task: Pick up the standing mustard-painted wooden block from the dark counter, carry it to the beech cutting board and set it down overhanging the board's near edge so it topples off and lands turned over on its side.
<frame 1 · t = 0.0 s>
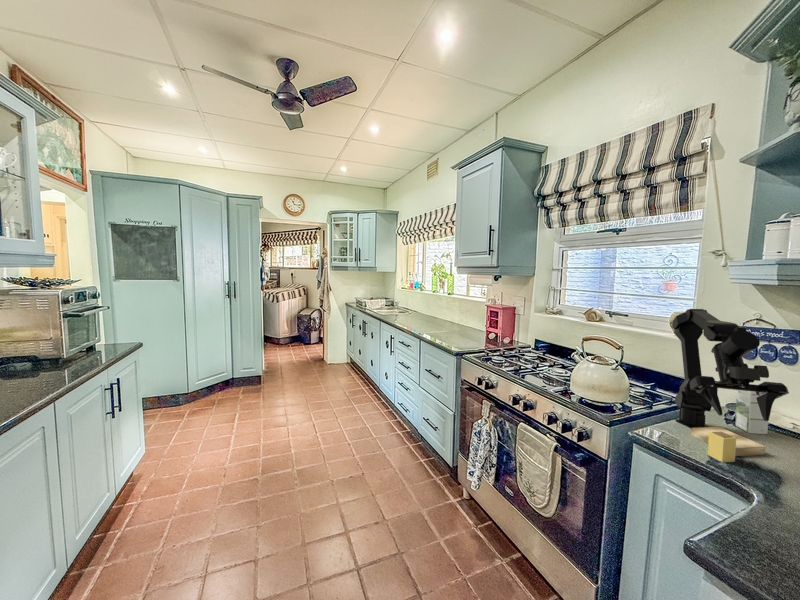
hand: (743, 418, 87), 15 cm above the countertop, tool tilted 35°, fingers open, 9 cm apart
syrup box: (750, 430, 112), on the countertop
cutting board: (725, 444, 102), on the countertop
mustard block: (720, 458, 94), on the countertop
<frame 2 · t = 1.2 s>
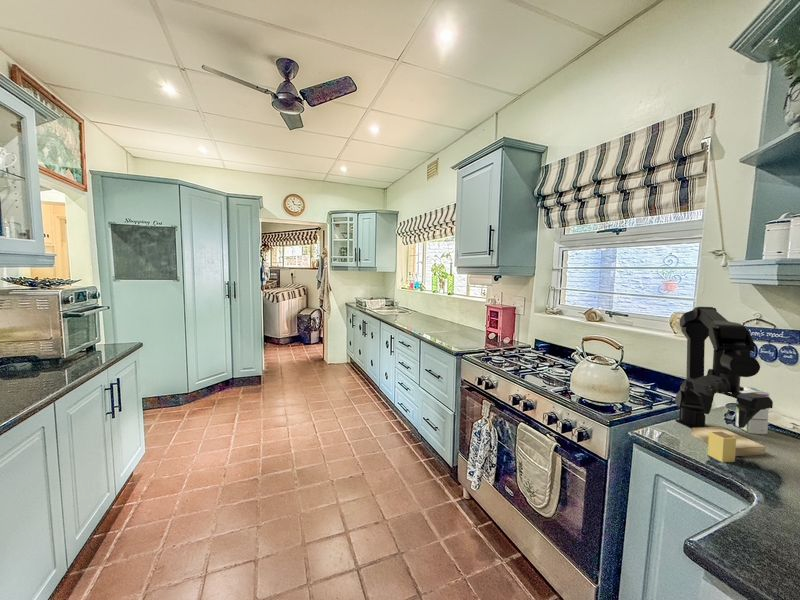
hand: (723, 420, 94), 11 cm above the countertop, tool pointing down, fingers open, 9 cm apart
nothing on the countertop moved.
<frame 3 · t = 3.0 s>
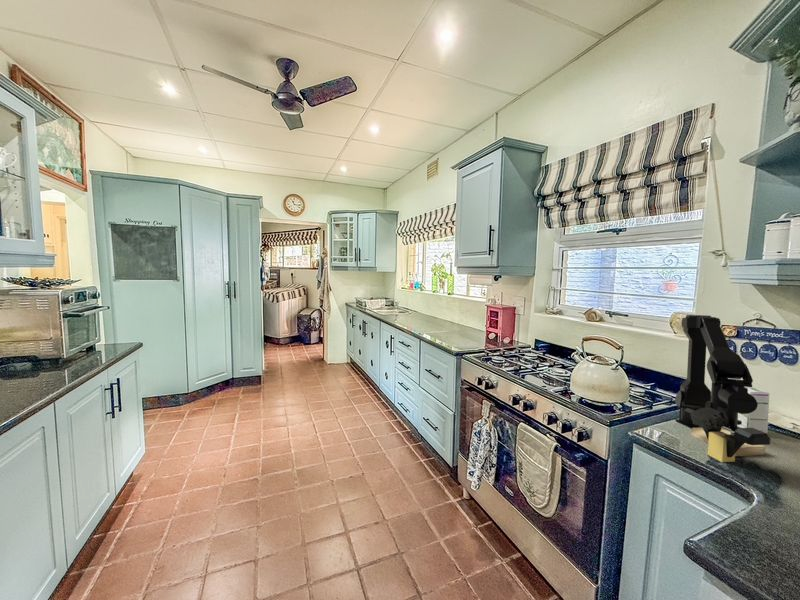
hand: (721, 452, 94), 2 cm above the countertop, tool pointing down, fingers closed on mustard block, 4 cm apart
mustard block: (720, 458, 94), on the countertop, touching gripper
everything else where it was.
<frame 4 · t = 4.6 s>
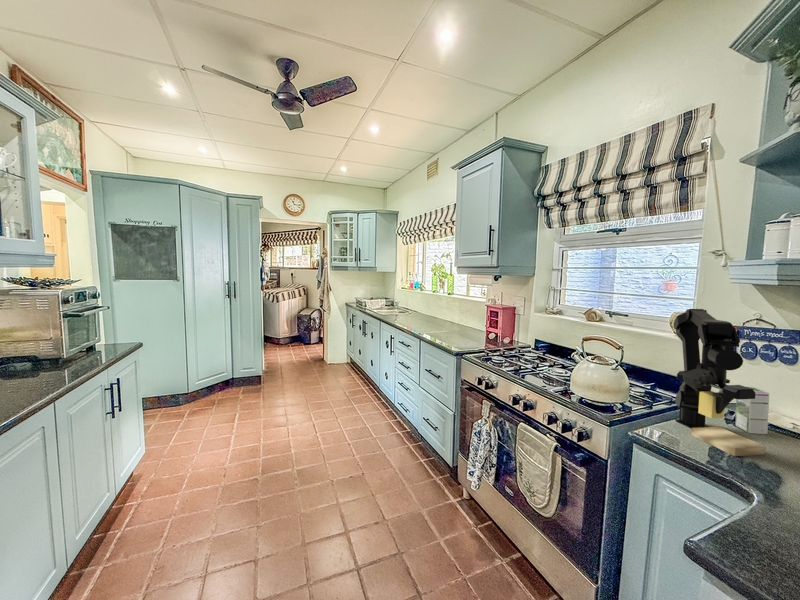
hand: (710, 410, 101), 11 cm above the countertop, tool pointing down, fingers closed on mustard block, 4 cm apart
mustard block: (710, 415, 101), point 10 cm above the countertop, touching gripper
everything else where it was.
when the fingers open (5 cm above the countertop, at t = 6.0 s): mustard block drops 2 cm and tips over, point 2 cm above the countertop.
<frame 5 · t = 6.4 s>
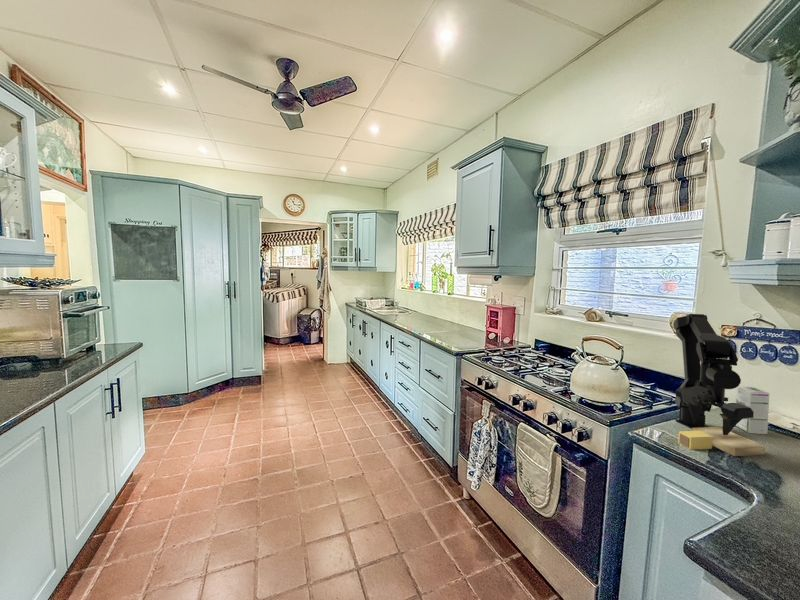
hand: (709, 428, 101), 5 cm above the countertop, tool pointing down, fingers open, 9 cm apart
mustard block: (705, 439, 101), point 2 cm above the countertop, tilted 90°
everything else where it was.
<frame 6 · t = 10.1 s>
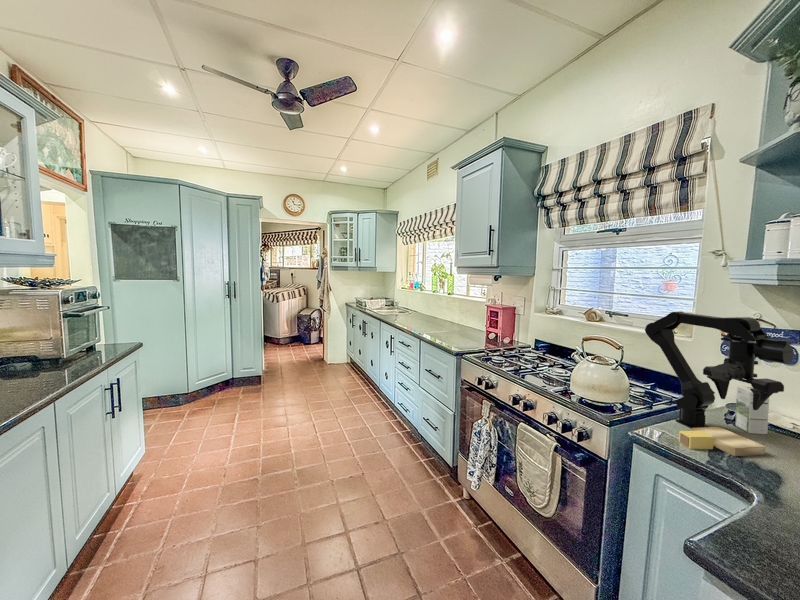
hand: (738, 404, 104), 12 cm above the countertop, tool pointing down, fingers open, 9 cm apart
nothing on the countertop moved.
at the end: mustard block tilted 90°; mustard block inside the target area (3.2 cm from its centre), point 1.8 cm above the countertop; the gripper is holding nothing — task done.
